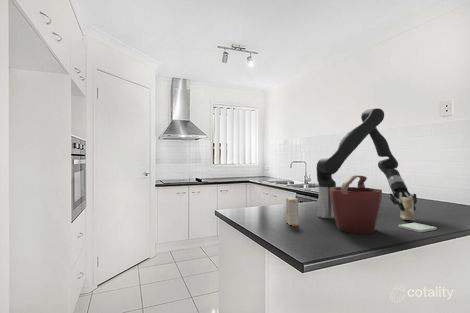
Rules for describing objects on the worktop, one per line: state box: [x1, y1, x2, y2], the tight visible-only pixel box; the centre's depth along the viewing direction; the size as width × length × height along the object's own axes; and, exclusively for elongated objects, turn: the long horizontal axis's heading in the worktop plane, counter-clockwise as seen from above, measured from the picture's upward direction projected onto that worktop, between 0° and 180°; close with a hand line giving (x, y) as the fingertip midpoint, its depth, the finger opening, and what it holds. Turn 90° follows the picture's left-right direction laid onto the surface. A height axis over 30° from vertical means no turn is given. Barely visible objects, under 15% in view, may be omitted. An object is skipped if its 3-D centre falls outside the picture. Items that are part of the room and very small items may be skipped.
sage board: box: [397, 222, 437, 233], centre depth 122 cm, size 12×10×1 cm
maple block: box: [399, 196, 415, 221], centre depth 137 cm, size 4×4×11 cm
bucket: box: [330, 175, 383, 235], centre depth 121 cm, size 24×22×25 cm
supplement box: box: [285, 196, 299, 227], centre depth 131 cm, size 8×5×13 cm, turn 179°
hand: (408, 210), depth 135 cm, fingers closed on maple block, 4 cm apart
